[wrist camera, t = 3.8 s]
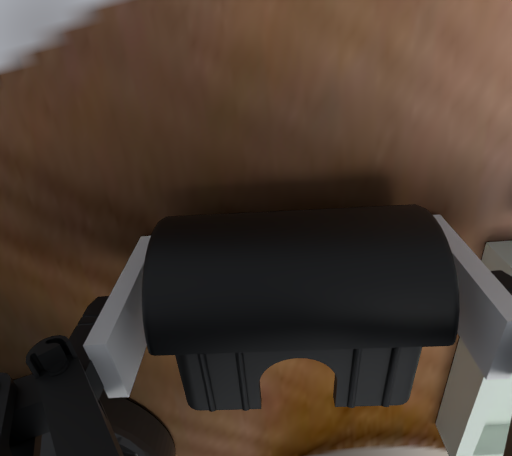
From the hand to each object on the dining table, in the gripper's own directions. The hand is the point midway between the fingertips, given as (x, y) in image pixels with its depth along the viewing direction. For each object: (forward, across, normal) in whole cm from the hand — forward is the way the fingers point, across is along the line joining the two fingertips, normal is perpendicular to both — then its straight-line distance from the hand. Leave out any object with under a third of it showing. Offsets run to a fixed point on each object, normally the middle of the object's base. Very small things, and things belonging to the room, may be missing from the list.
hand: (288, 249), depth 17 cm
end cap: (0, 0, 0) cm, 0 cm away
